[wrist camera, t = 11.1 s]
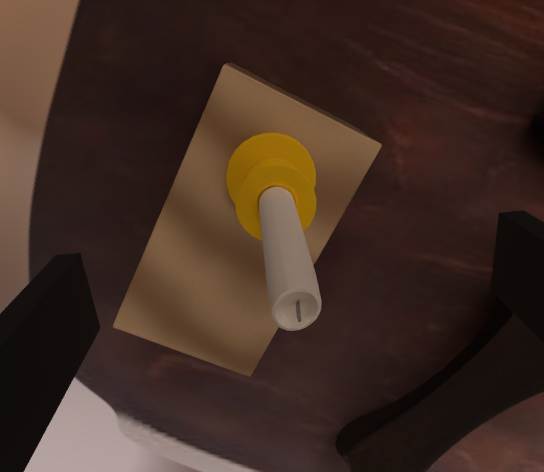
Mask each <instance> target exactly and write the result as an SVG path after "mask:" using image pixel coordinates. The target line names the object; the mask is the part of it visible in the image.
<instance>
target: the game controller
mask: <svg viewBox="0 0 544 472" xmlns="http://www.w3.org/2000/svg"><path fill="white" fill-rule="evenodd" d="M532 124H533V126H534V127H535V128H536V129H537V130H538V132H539V135H540V136H541V138H542V139H543V140H544V116H534V118H533V121H532Z"/></svg>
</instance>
